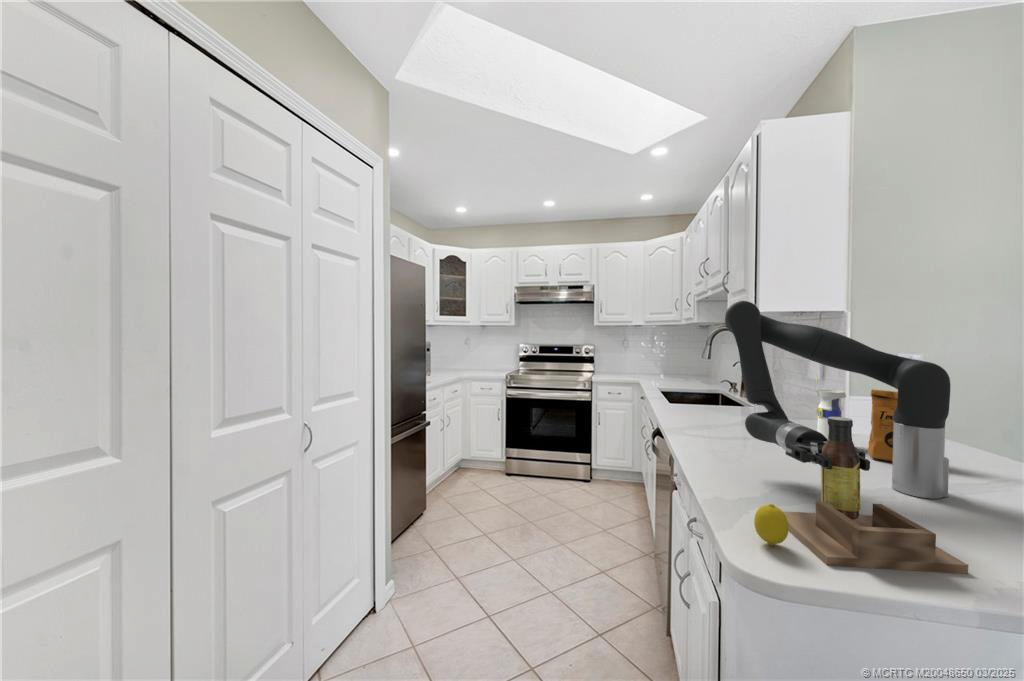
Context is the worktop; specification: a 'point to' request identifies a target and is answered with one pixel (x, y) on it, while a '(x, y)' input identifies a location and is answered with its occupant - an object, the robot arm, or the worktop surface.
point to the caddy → (871, 540)
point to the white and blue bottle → (828, 408)
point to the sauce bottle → (841, 469)
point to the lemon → (771, 524)
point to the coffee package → (882, 424)
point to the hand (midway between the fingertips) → (848, 465)
